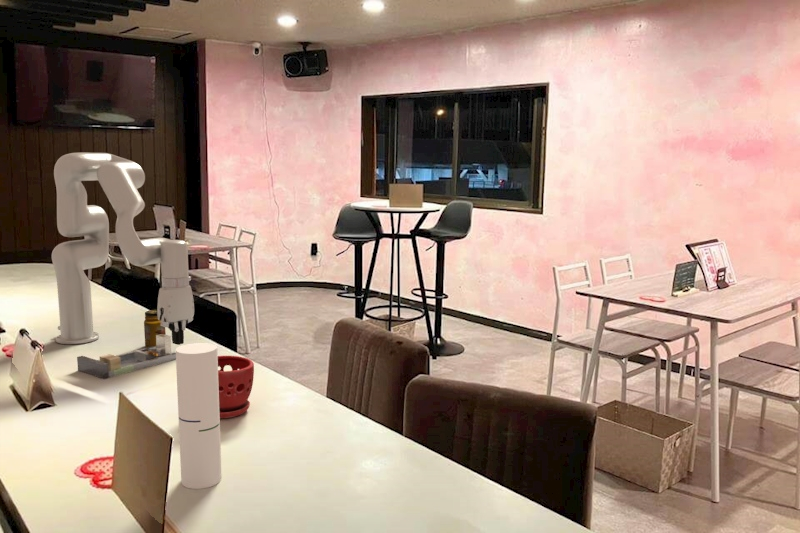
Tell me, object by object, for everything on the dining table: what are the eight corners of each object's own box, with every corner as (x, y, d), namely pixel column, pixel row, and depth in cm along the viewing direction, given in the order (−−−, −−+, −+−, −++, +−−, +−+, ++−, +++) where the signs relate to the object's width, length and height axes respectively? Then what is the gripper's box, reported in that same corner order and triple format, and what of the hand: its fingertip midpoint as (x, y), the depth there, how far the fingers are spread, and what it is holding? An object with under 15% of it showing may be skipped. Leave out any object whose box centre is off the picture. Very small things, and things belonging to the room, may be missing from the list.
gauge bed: (78, 374, 190) (77, 357, 189) (154, 354, 209) (153, 338, 208) (104, 383, 183) (102, 364, 182) (180, 361, 202) (179, 344, 202)
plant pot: (203, 426, 155) (201, 373, 153) (191, 407, 167) (189, 358, 165) (261, 416, 161) (260, 366, 159) (246, 399, 173) (244, 351, 171)
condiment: (170, 350, 214) (168, 312, 212) (141, 355, 209) (139, 315, 207) (163, 345, 220) (161, 307, 218) (135, 349, 215) (133, 310, 213)
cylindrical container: (185, 471, 133) (180, 343, 129) (224, 470, 134) (220, 342, 130) (177, 489, 126) (171, 354, 122) (218, 488, 127) (213, 353, 123)
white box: (134, 358, 200) (133, 340, 199) (161, 351, 207) (160, 333, 206) (151, 363, 195) (150, 344, 194) (178, 356, 203) (177, 337, 202)
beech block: (100, 369, 191) (99, 356, 191) (110, 366, 194) (109, 354, 193) (111, 372, 188) (110, 359, 188) (121, 369, 191) (120, 357, 190)
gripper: (188, 277, 214) (190, 336, 217) (145, 284, 202) (148, 347, 205) (204, 280, 210) (206, 340, 212) (161, 287, 197) (164, 351, 200)
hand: (178, 343), depth 208 cm, fingers closed
